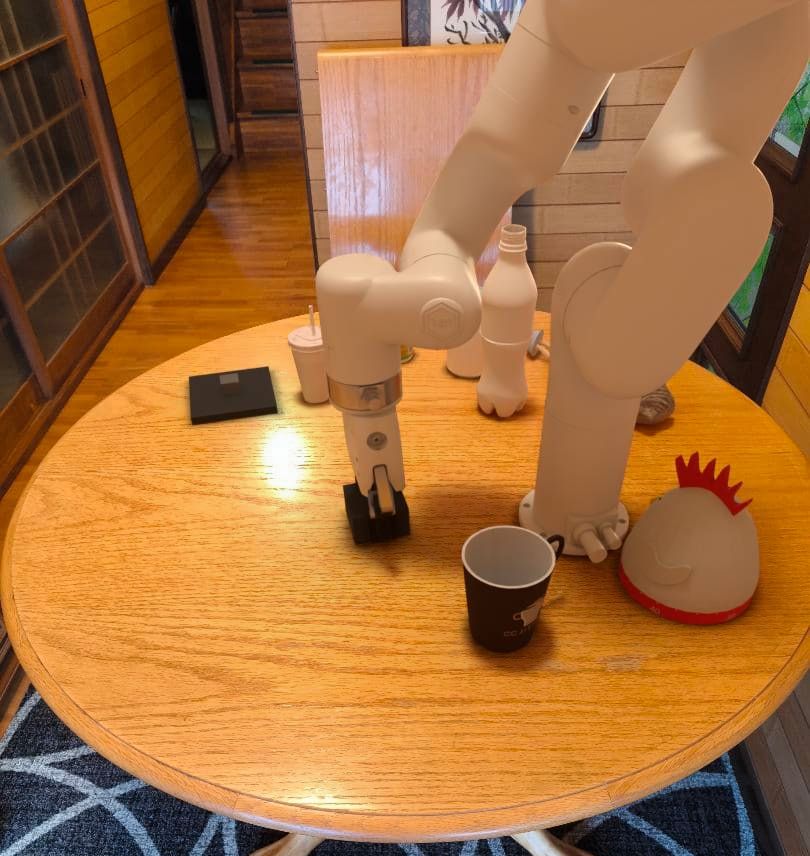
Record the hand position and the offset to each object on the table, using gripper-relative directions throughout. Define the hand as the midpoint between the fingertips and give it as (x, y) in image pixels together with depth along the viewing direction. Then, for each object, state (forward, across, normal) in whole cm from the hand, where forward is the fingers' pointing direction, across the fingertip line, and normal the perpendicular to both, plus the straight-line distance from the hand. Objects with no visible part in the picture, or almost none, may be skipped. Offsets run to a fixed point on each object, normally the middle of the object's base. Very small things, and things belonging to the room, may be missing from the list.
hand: (376, 518), depth 89 cm
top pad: (+1, 0, 0) cm, 1 cm away
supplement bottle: (+1, +40, -11) cm, 42 cm away
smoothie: (+1, +31, +3) cm, 31 cm away
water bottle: (+2, +21, -22) cm, 31 cm away
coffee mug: (+2, -19, -10) cm, 22 cm away
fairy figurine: (+2, +35, -32) cm, 48 cm away
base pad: (+1, +34, +15) cm, 37 cm away
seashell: (+2, +14, -39) cm, 42 cm away
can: (+2, +33, -21) cm, 39 cm away
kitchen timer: (+2, -17, -30) cm, 35 cm away
